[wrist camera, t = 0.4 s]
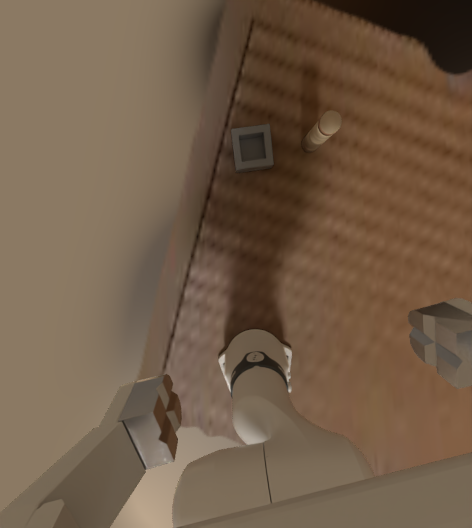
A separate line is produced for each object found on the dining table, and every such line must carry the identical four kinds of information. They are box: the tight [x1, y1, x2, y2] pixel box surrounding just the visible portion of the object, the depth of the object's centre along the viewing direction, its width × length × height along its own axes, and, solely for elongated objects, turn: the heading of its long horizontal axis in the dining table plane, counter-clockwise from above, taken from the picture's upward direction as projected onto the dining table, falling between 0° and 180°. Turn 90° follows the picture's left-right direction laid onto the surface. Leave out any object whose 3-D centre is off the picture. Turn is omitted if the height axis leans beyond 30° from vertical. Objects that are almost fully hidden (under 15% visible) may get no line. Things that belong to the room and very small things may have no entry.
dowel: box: [302, 111, 342, 153], centre depth 50 cm, size 4×4×13 cm
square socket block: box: [231, 124, 274, 173], centre depth 55 cm, size 8×8×4 cm
